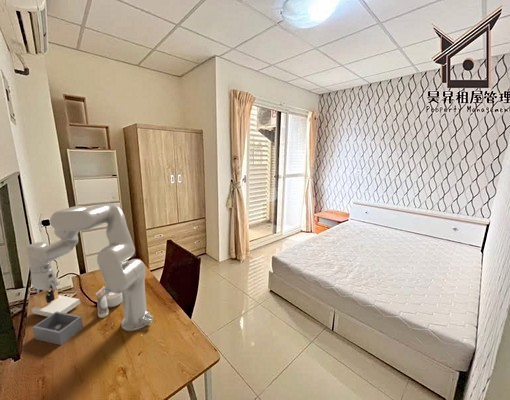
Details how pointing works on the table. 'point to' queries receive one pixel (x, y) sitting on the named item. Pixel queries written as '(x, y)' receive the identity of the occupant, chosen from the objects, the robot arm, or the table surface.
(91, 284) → the table surface
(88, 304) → the table surface
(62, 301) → the lid
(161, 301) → the table surface
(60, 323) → the tub
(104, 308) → the cosmetic set
